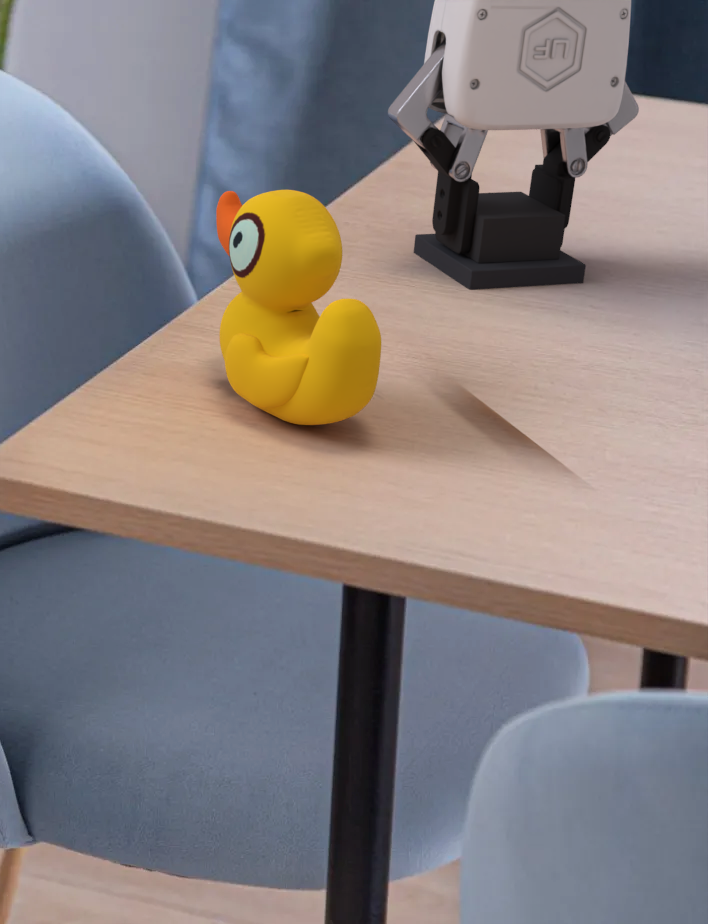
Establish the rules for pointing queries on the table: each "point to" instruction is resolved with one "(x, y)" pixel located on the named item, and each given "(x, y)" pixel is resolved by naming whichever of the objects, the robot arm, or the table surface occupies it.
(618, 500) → the table surface
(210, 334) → the table surface
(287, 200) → the duckling
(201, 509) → the table surface
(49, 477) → the table surface
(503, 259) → the top pad
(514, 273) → the base pad
